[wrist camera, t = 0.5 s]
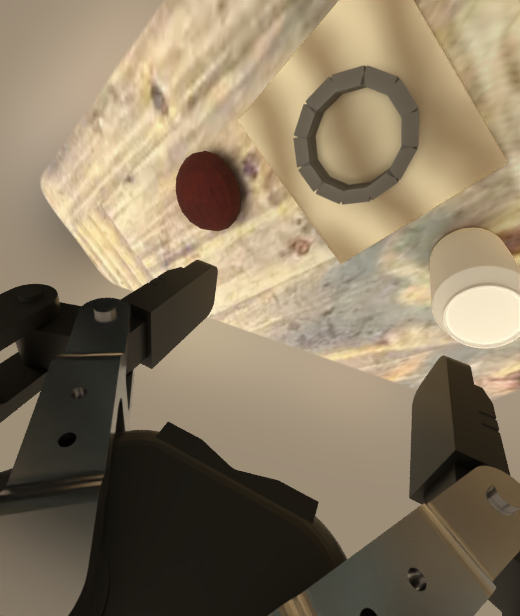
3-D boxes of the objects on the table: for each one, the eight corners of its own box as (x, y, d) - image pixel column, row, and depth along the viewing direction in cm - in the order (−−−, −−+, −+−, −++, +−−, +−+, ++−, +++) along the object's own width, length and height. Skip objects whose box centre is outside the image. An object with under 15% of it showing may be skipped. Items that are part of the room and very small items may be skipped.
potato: (202, 225, 41) (174, 239, 37) (185, 154, 38) (151, 160, 33) (254, 221, 38) (230, 237, 34) (241, 144, 35) (213, 149, 30)
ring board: (384, -46, 24) (378, -72, 20) (505, 161, 27) (517, 167, 23) (242, 120, 33) (223, 121, 30) (343, 259, 36) (335, 274, 33)
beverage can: (481, 210, 29) (510, 257, 20) (519, 263, 30) (564, 333, 20) (416, 249, 33) (414, 305, 23) (451, 296, 33) (463, 368, 24)
